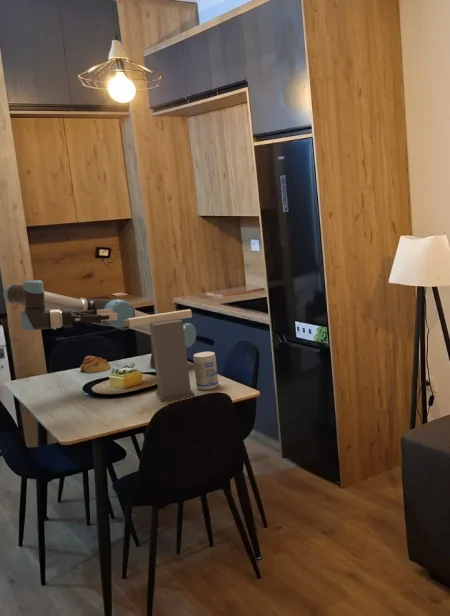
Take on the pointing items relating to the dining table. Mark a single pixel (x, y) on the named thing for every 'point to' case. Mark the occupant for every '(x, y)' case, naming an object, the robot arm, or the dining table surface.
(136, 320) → the beige square bar
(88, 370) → the pastry
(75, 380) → the dining table surface
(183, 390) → the stand
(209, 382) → the supplement tub
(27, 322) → the robot arm
